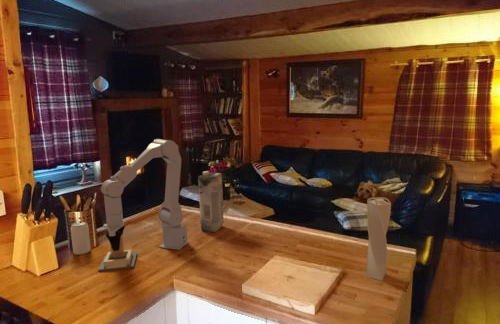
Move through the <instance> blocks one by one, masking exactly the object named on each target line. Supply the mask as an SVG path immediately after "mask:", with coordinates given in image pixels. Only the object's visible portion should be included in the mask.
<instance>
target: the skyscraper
mask: <svg viewBox="0 0 500 324" xmlns="http://www.w3.org/2000/svg"><path fill="white" fill-rule="evenodd" d="M385 200H386V201H385ZM366 201H367V203H366V204H367V205H366V206H367V207H366V210H367V211H366V212H367V213H366V220H367V223H366V224H367V232H368V241H367V242H368V243H367V251H366V269H365V270H366V271H365V275H366V276H365V277H366V278H368V279H373V280H377V281H381V282H383V281H384V278H385V276H386V275H387V268H388V245H387V244H388V243H387V242H388V241H387V232H388V230H389V229H388V228H389V226H390V225H389V223H390V218H391V211H392V210H391V209H392V203H391V201H390V199H389V198H388V197H381V196H379V197H369V198H367V200H366Z"/></svg>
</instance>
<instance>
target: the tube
mask: <svg viewBox="0 0 500 324" xmlns="http://www.w3.org/2000/svg"><path fill="white" fill-rule="evenodd" d="M118 232H121V231H118ZM124 247H125V246H124V238H123V235H121V239H120V249H119V251H113V249H112V247H111V246H110V250H111V251H110V252H111V255H112V256H121V255H123V254H124V250H125V249H124Z"/></svg>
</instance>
